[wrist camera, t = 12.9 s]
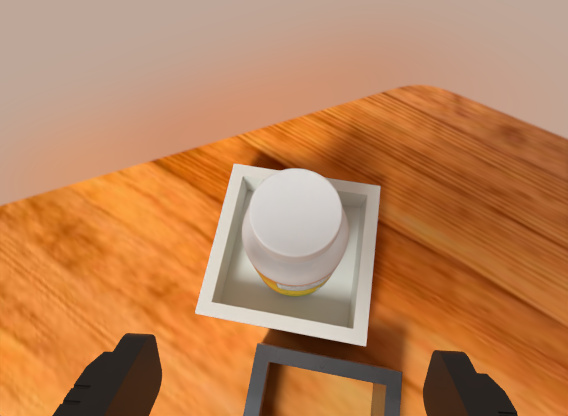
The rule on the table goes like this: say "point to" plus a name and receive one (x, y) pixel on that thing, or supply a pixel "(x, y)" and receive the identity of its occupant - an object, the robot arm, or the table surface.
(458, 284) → the table surface
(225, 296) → the tray
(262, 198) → the supplement bottle
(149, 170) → the table surface
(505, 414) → the robot arm
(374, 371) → the holder sleeve
